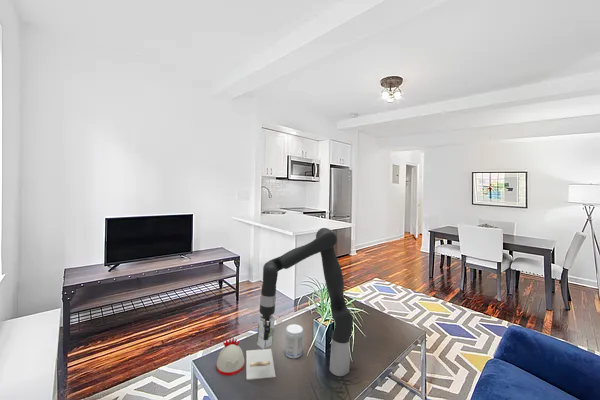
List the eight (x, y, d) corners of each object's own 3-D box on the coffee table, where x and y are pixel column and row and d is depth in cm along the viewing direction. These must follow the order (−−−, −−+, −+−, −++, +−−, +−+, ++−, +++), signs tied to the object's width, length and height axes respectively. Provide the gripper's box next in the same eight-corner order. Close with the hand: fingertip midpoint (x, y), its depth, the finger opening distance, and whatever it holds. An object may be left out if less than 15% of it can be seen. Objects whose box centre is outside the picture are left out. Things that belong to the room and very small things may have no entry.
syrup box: (264, 340, 137) (266, 312, 137) (272, 345, 134) (275, 317, 133) (256, 344, 133) (258, 316, 132) (264, 350, 129) (266, 321, 128)
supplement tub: (298, 347, 157) (300, 323, 156) (304, 357, 148) (306, 331, 147) (282, 349, 154) (284, 325, 153) (287, 360, 145) (289, 334, 144)
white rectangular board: (271, 349, 154) (271, 348, 154) (275, 377, 132) (275, 376, 132) (246, 351, 151) (246, 350, 151) (246, 379, 129) (246, 379, 129)
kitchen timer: (215, 359, 142) (216, 332, 141) (241, 355, 147) (243, 328, 146) (217, 378, 129) (218, 348, 128) (246, 372, 134) (247, 343, 133)
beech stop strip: (269, 363, 141) (269, 361, 141) (269, 365, 140) (270, 362, 140) (250, 364, 139) (250, 362, 139) (250, 366, 138) (250, 364, 138)
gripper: (277, 309, 126) (274, 343, 127) (273, 296, 140) (271, 326, 141) (261, 309, 124) (258, 343, 125) (259, 296, 138) (256, 327, 139)
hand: (265, 334), depth 133 cm, fingers closed on syrup box, 7 cm apart
